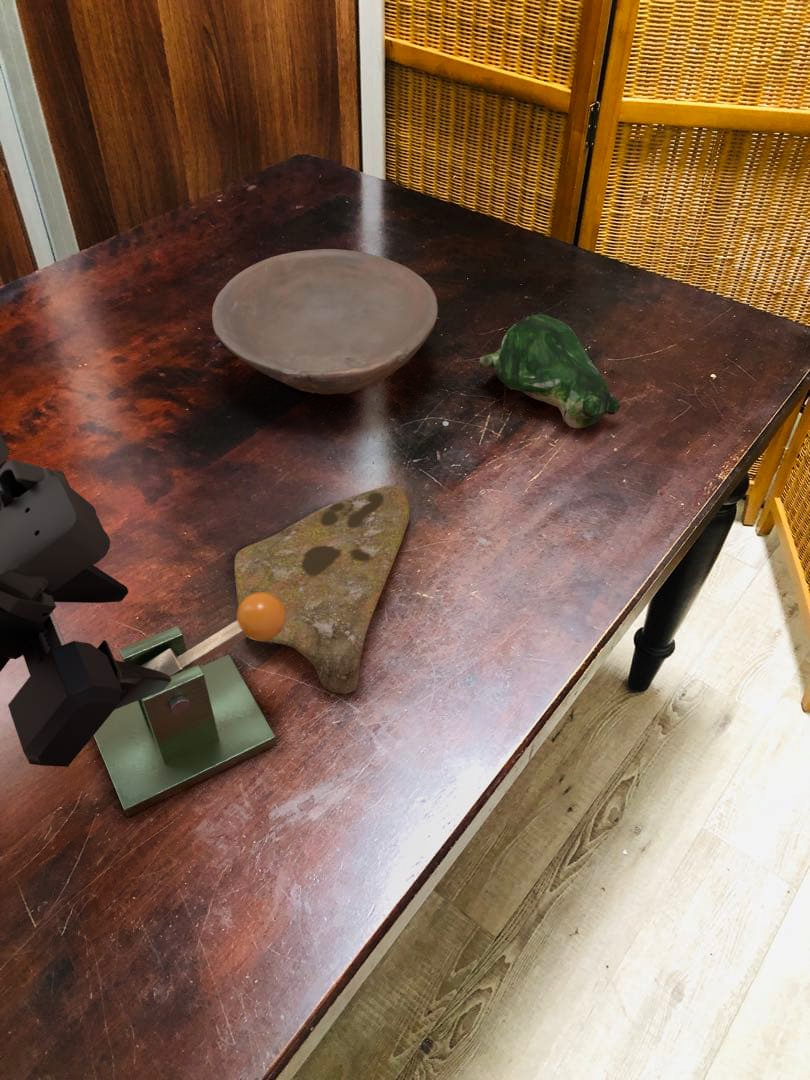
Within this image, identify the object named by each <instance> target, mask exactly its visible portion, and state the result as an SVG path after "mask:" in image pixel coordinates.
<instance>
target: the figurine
mask: <svg viewBox="0 0 810 1080" xmlns="http://www.w3.org/2000/svg"><path fill="white" fill-rule="evenodd" d="M477 363H478V364H477V368H478V369H479V370H481V371H484V370H487V369H491V371H492V372H493V373H495V375H496V378H498V380H499V381H500V382H502V383H503V384H504V386H506V387H507V388H508V389H511V390H515V391H519V392H522V393H523V394H525V395H526V396H528V397H530V398H532V399H534V400H537V401H540V402H544V403H546V404H548V405H551V406H553V407H556V408H558V409H559V411H560V413H561V415H562V419H563V421H564V423H565V424H567V426H568V427H570V428H572V429H582V428H583V429H584V428H587V427H589V426H592V425H594V424H595V423H597V422H598V421H599V420H600V419H601V418H602V417H603V416H605V415H610V416H612V415H615V414H617V413H618V412H619V410H620V408H621V402H620V400H618V399H617V398H616V397H615V396H613V395H612V394H611V392H610V389H609V387H608V384H607V382H606V380H605V378H604V376H603V375H602V373H601V371H600V370H599V369H598V368H597V367H596V366H595V365H594V363H593V361H591V359H590V358H589V356H588V354H587V353H586V350H585V348H584V346H583V344H582V343H581V341H580V339H579V338H578V336H577V335H576V333H575V332H574V330H573V329H572V328H571V327H570V326H569V325H568V324H566V323H565V322H563V321H562V320H560V319H557V318H554V317H551V316H549V315H546V314H543V313H542V314H541V313H538V314H536V313H535V314H532V315H527V316H526V317H523V318H521V319H520V320H519V321H517V322H516V323H515V324H514V325H512V326H511V327H510V328H509V329H508V330H506V332H505V335H503V337H502V340H501V345H500V348H499V349H497V350H496V351H494V352H491V353H488V354H485V355H483V356H481V357H480V358H478V362H477Z"/></svg>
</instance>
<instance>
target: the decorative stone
mask: <svg viewBox="0 0 810 1080" xmlns="http://www.w3.org/2000/svg"><path fill="white" fill-rule="evenodd" d="M410 512H411V511H410V504H409V498H408V496H407V493H406V492H405V491H404V489H403V488H402V487H401V486H399V485H396V484H393V485H385V486H381V487H378V488H374V489H371V490H368V491H365V492H362V493H359V494H356V495H354V496H351V497H348V498H347V497H346V498H345V499H342V500H339V501H336V502H333V503H330V504H328V505H326V506H324V507H322V508H320V509H318V510H316V511H314V512H312V513H310V514H308V515H306V516H305V517H303V518H302V519H300V520H298V521H296V522H295V523H293V524H291V525H289V526H288V527H286V528H284V529H283V530H281V531H279V532H277V533H276V534H272V536H269V537H267V538H265V539H262V540H260V541H258V542H255V543H253V544H249V545H247V546H245V547H243V548H241V549H240V550H238V552H236V555H235V557H234V564H233V565H234V579H235V588H236V590H235V591H236V599H237V605H238V607H239V605H240V603H241V602H242V601H243V600H244V599H245V598H246V597H247V596H249V595H250V594H253V593H256V592H267V593H271V594H273V595H275V596H276V597H277V598H278V599H279V600H280V601H281V602H282V603H283V605H284V608H285V611H286V621H285V625H284V627H283V629H282V630H281V632H280V633H279V634H278V635H277V636H275V637H274V638H272V639H270V640H266V641H260V642H261V643H267V644H268V643H269V644H277V645H283V646H288V647H291V648H292V649H295V650H296V651H297V652H299V653H300V654H301V655H302V656H303V657H304V658H306V659H307V660H308V661H309V663H311V664H312V665H313V666H314V668H315V669H316V672H317V676H318V679H319V681H320V684H321V685H322V686H323V687H324V688H325V689H326V690H328V691H330V692H332V693H335V694H348V693H351V692H353V691H355V690H356V689H357V687H358V686H359V672H360V667H361V666H360V665H361V655H362V653H363V649H364V644H365V638H366V635H367V631H368V629H369V626H370V623H371V620H372V618H373V614H374V612H375V609H376V607H377V605H378V601H379V599H380V596H381V594H382V591H383V589H384V586H385V584H386V582H387V579H388V578H389V577H388V576H389V574H390V572H391V569H392V567H393V564H394V561H395V559H396V557H397V554H398V551H399V549H400V546H401V543H402V540H403V538H404V536H405V534H406V533H405V532H406V530H407V528H408V525H409V521H410V514H411V513H410ZM238 607H237V608H238Z"/></svg>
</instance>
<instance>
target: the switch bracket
mask: <svg viewBox="0 0 810 1080" xmlns="http://www.w3.org/2000/svg"><path fill="white" fill-rule="evenodd" d="M169 648H171V649H172V650H173V651H174V652H175V654H176V655H177V656H180V655H182V654H183V653H185V652H186V651H188V650H187V649H188V648H187V645H186V642H185V638H184V635H183V632H182V630H181V628H180V626H179V625H178V624H177V625H175V626H172V627H169V628H168V629H165V630H163V631H160V632H157V633H156V634H153V635H151V636H148V637H146V638H144V639H141V640H139V641H136V642H134V643H132V644H128V645H127V646H124V647H122V648H120V649H118V650H119V653H120V657H121V659H122V662H125V663H129V664H133V665H137V666H141V665H143V664H145V663H146V662H148V661H149V660H151V659H153V658H154V657H156V656H157V655H159V654H161V653H162V652H164V651H166V650H167V649H169ZM170 678H171V682H170V683H169V684H168V686H167V687H166V688H165V689H164V690H163V691H161V692H158V693H156V694H153V695H151V696H148V697H146V698H143V699H141V700H138V701H136V702H133V703H131V704H128V705H126V706H123V707H120V708H118V709H116V710H114V711H113V712H112V713H111V715H110V716H109V717H108V718H107V720H106V721H105V722H104V723H103V724H102V726H101V727H100V728H99V729H98V731H97V732H96V733H95V734H94V735H93V738H94V740H95V743H96V746H97V748H98V751H99V753H100V755H101V757H102V760H103V761H104V762H103V763H104V764H105V767H106V770H107V772H108V775H109V777H110V779H111V782H112V784H113V787H114V789H115V792H116V794H117V796H118V799H119V801H120V803H121V806H122V810H123V811H124V813H125V816H126V818H129V817H131V816H133V815H135V814H137V813H139V812H141V811H143V810H146V809H148V808H149V807H151V806H154V805H156V804H158V803H160V802H162V801H164V800H166V799H168V798H171V797H172V796H174V795H177V794H178V793H180V792H183V791H184V790H187V789H189V788H190V787H192V786H195V785H196V784H199V783H201V782H203V781H205V780H207V779H209V778H211V777H213V776H215V775H217V774H219V773H221V772H223V771H226V770H227V769H229V768H232V767H234V766H236V765H238V764H239V763H242V762H244V761H246V760H248V759H250V758H253V757H254V756H257V755H258V754H260V753H262V752H264V751H266V750H268V749H270V748H272V747H274V746H277V738H276V735H275V733H274V731H273V729H272V728H271V726H270V724H269V722H268V721H267V719H266V717H265V715H264V713H263V711H262V710H261V707H260V706H259V705H258V703H257V701H256V699H255V698H254V696H253V694H252V692H251V690H250V688H249V687H248V684H247V683H246V681H245V680H244V678H243V676H242V674H241V673H240V671H239V668H238V667H237V666H236V664H235V662H234V660H233V658H232V656H231V655H230V654H226V655H223V656H222V657H220V658H217V659H215V660H212V661H211V662H207V663H205V664H203V665H201V666H199V665H196V666H194V667H192V668H189V669H187V670H185V671H182V672H180V673H178V674H175V675H173V676H171V677H170Z"/></svg>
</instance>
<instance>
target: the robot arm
mask: <svg viewBox="0 0 810 1080" xmlns="http://www.w3.org/2000/svg"><path fill="white" fill-rule="evenodd" d="M9 452H10V451H9V447H8V444H7V443H6V441H5V440H4V438H3V437H2V436H1V434H0V673H1V672H2V671H3V669H4V668H5V667H6V665H8V663H9V661H10V660H11V659H12V660H18V659H19V658H21V657H23V659H24V662H25V666H26V668H27V670H28V673H29V677H28V678H27V679H26V681H25V682H24V683H23V684H22V686H21V687H20V688H19V690H18V691H17V692H16V694H15V695H14V696H13V697H12V699H11V700H10V702H9V703H8V704H7V706H8V710H9V712H10V716H11V719H12V722H13V724H14V728H15V730H16V734H17V737H18V740H19V743H20V747H21V749H22V752H23V754H24V756H25V758H26V760H27V761H28V764H29V765H32V766H33V765H34V766H42V767H44V766H45V767H61V768H62V767H64V768H68V767H69V766H70V765H71V764H72V763H73V761H74V760H75V759H76V758H77V757H78V756H79V754H80V753H81V752H82V750H83V749H84V748H85V747H86V746H87V744H88V743H89V742H90V741H91V739H92V738H94V734H95V733H96V732H97V731H98V729H99V728H100V727H101V726H102V724H103V723H104V722H105V721H106V720H107V718H108V717H109V716H110V715H111V713H112V712H113V711H114V710H116V709H118V708H120V707H123V706H126V705H128V704H131V703H133V702H136V701H138V700H141V699H143V698H146V697H148V696H151V695H153V694H156V693H158V692H161V691H163V690H164V689H165V688H166V687H167V686H168V684H169V683H170V682H171V678H170V676H169V675H167V674H165V673H162V672H159V671H157V670H153V669H150V668H145V667H141V666H137V665H133V664H129V663H125V662H123V661H121V660H116V659H115V657H114V654H113V652H112V650H111V648H110V646H109V644H108V641H107V640H105V639H103V640H102V642H101V643H100V644H99V645H98V646H97V647H96V646H95V645H93V644H92V643H90V642H83V641H78V640H72V641H70V642H67V643H66V641H65V639H64V636H63V634H62V631H61V630H60V626H59V624H58V622H57V618H56V617H55V614H54V610H55V609H56V608H57V604H56V603H76V604H77V603H79V604H105V603H107V604H108V603H119V602H122V601H123V600H124V599H125V598H126V597H127V595H128V594H129V588H128V587H127V586H126V585H125V584H123V583H121V582H120V581H119V580H117V579H115V578H114V577H112V576H111V575H109V574H108V573H106V572H105V571H103V570H102V569H100V568H99V567H97V566H96V564H98V563H99V562H100V561H102V560H103V559H104V558H105V557H106V555H107V553H108V552H109V550H110V547H111V539H110V537H109V535H108V533H107V532H106V531H105V529H104V527H103V525H102V523H101V521H100V518H99V517H98V515H97V510H96V508H95V506H94V505H93V504H91V503H90V501H88V500H87V499H86V498H84V497H83V496H82V495H81V494H79V492H77V491H76V490H75V489H73V488H72V487H71V485H70V483H69V481H68V479H67V477H66V474H65V473H64V472H63V471H62V470H60V469H55V470H51V469H50V468H49V467H48V466H47V467H45V468H43V467H41V466H39V465H37V464H31V463H28V462H22V461H19V460H18V461H17V460H13V459H10V460H8V459H9V457H10V453H9Z"/></svg>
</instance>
